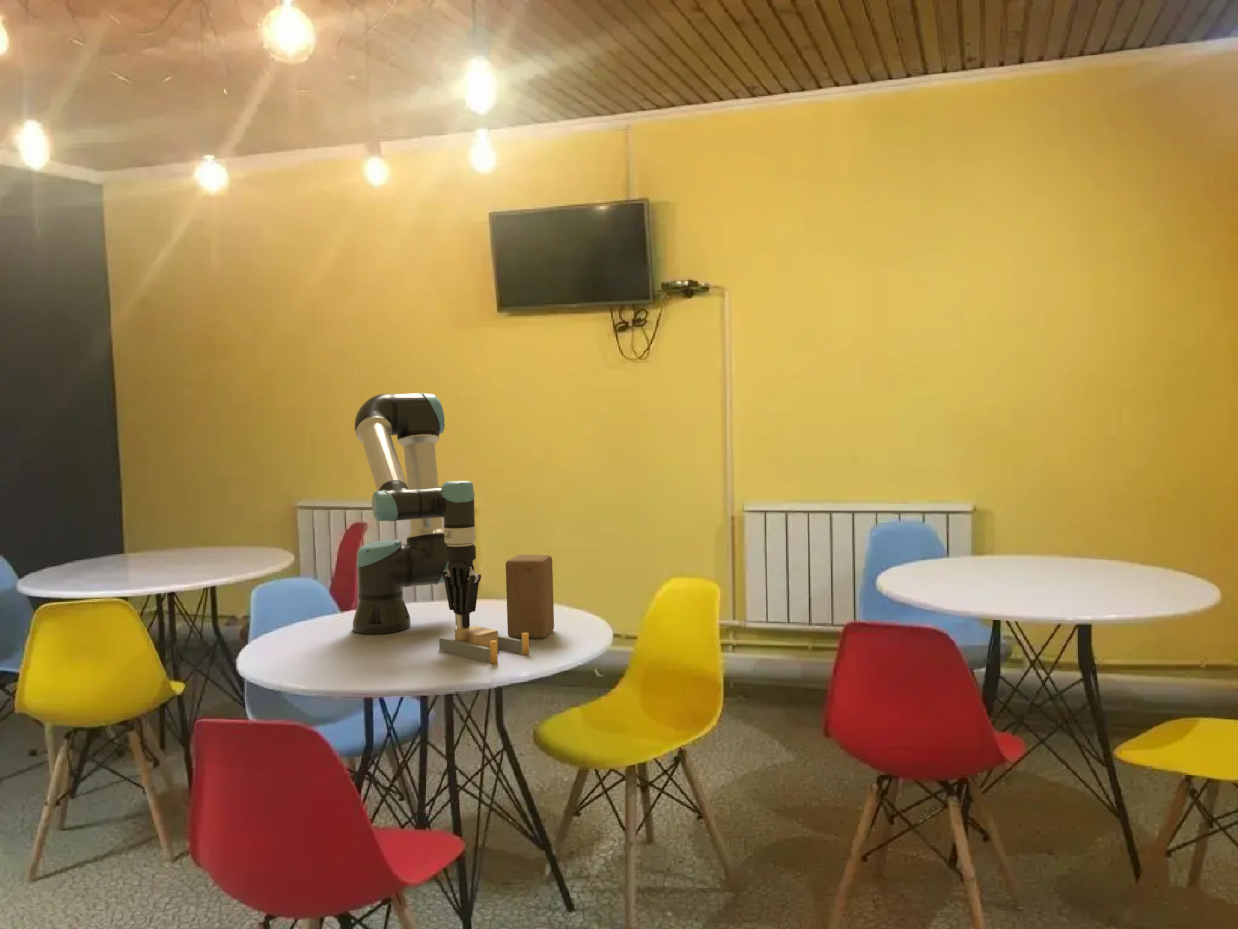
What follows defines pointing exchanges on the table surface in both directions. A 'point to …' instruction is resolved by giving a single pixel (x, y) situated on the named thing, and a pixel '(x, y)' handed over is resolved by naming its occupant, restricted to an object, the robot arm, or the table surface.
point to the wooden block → (530, 596)
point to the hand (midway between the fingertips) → (463, 639)
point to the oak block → (477, 635)
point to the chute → (485, 652)
